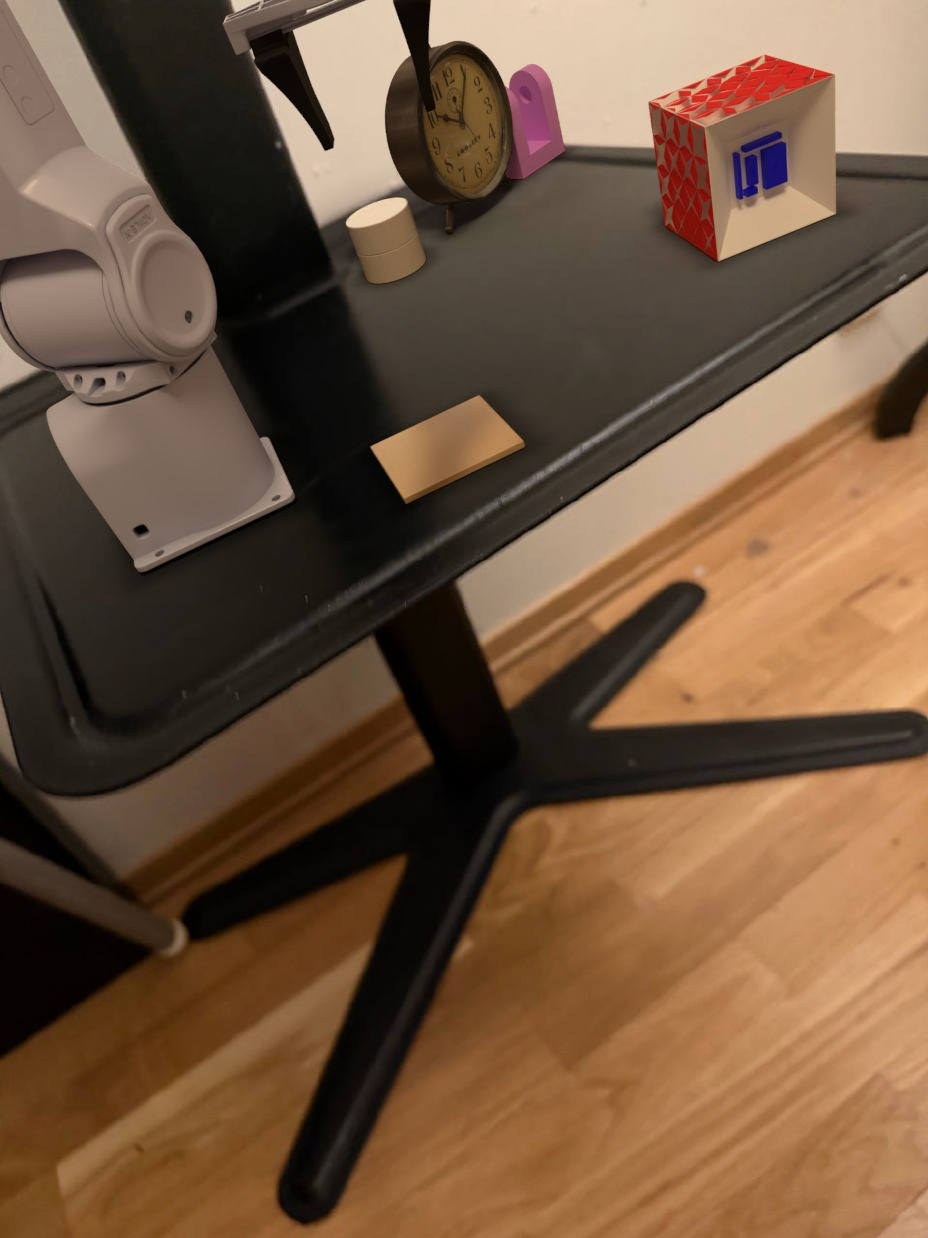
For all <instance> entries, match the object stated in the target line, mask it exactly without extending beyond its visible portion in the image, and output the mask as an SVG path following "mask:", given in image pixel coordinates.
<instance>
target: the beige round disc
mask: <svg viewBox="0 0 928 1238" xmlns="http://www.w3.org/2000/svg"><path fill="white" fill-rule="evenodd" d="M422 243H423V242H422V240H421V237H420V234H419V230H418V229H417V233H416V235H415V236H414V237H413V238H412V239H411V240H410V241H408V242H407V243H405V244H404V245H402V246H400V247H398V248H396V249H394V250H392V251H389V252H386V253H383V254H379V255H373V256H362V255H359V254H357V253H356V256H357V259H358V261H359V264H360V266H361V269H362V272H363V274H364V278H365V280H366V281H367V282H368V283H371V284H376V285H377V284H378V285H381V284H388V283H393V282H395V281H399V280H402V279H404V278H406V277H408V276H410V275H412V274H414V273H415V272H417V271H418V270H419V269H421V268H422V267H423V266H424V264H425V263H426V261H427V256H426V252H425V249H424V246H423V244H422Z"/></svg>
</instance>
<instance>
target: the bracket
mask: <svg viewBox="0 0 928 1238" xmlns="http://www.w3.org/2000/svg"><path fill="white" fill-rule="evenodd" d="M505 88H506V91H507V94H508V98H509V102H510V107H511V112H512V122H513V142H512V151H511V156H510V160H509V164H508V167H507V170H506V173H505V174H506V176H507V177H510V178H511V180H524V179H526V178H528V177H529V176H530V175H532V174H533V173H535V172H537V171H538V170H539V169H541V168H542V167H544V166H545V165H546V164H548V163H550V162H551V161H553V160H554V159H555V158H557V157H558V156H559V155H562V154H563V153H564V152H565V151H566V148H565V142H564V137H563V134H562V127H561V124H560V117H559V113H558V108H557V102H556V98H555V92H554V88H553V83H552V80H551V79H550V75H548V73H547V71H545V69H544V68H543V67H541V66H540V65H538V64H535V63H529V64H526V65H525V66H523V67H522V68H520V69H518V70H516V71H515V72H514V73H513V74H512V75H511V77H510V79H509V83H508V87H507V86H506V85H505Z"/></svg>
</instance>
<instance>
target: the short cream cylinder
mask: <svg viewBox="0 0 928 1238" xmlns="http://www.w3.org/2000/svg"><path fill="white" fill-rule="evenodd" d="M415 221H416V220H415V218H414V215H413V212H412V209H411V206H410V202H409V200H408V199H407V198H404V197H389V198H385V199H381V200H378V201H374V202H372V203H369V204H368V205H365V206H363V207H361V208H360V209H357V210H356V211H355V212H354V213H352V214H351V215H350V216H349V217H348V218H347V219H346V221H345V226H346V229H347V232H348V235H349V237H350V240H351V242H352V246H353V248H354V251H355V253H356V255H357V254H359V255H362V256H373V255H379V254H383V253H386V252H389V251H392V250H394V249H396V248H398V247H400V246H402V245H404V244H405V243H407V242H408V241H410V240H411V239H412V238H413V237H414V236H415V235H416V233H417V230H418V227H417V224H416V222H415Z"/></svg>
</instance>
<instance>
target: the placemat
mask: <svg viewBox="0 0 928 1238" xmlns="http://www.w3.org/2000/svg"><path fill="white" fill-rule="evenodd" d="M369 448H370V451H371V452H372V454H373V456H374V457H375V459H376V460H377V461H378V463H379V465H380V467H381V469H383V471H384V473H385V474H386V476H387V477H388V479H389V481H390V482H391V483H392V485H393V487H394V488H395V489H396V491H397V493H398V495H399V496H400V497H401V499H402V501H403V502H404V503H405V505H408V504H409V503H412V502H414V501H416V500H418V499H420V498H422V497H424V496H426V495H428V494H431V493H433V492H435V491H436V490H439V489H441V488H443V487H445V486H447V485H449V484H451V483H453V482H455V481H457V480H460V479H463V478H464V477H466V476H468V475H470V474H471V473H474V472H477V471H478V470H480V469H483V468H485V467H487V466H488V465H491V464H492V463H495V462H497V461H499V460H501V459H503V458H505V457H507V456H509V455H512V454H514V453H516V452H518V451H520V450H522V449H524V448H526V443H525V441H524V440H523V439H522V437H521V436H520V435H518V433H516V431H515V430H514V429H513V428H511V426H510V425H509V424H508V423H507V422H506V421H505V420H504V418H502V417H501V416H500V415H499V414H498V413H497V411H495V410H494V408H493V407H491V405H490V404H489V403H488V402H487V401H486V400H485V399H484V397H482V396H481V395H480V394H478V395H476V396H474V397H471V398H470V399H467V400H466V401H463V402H461V403H460V404H457V405H455V406H453V407H450V408H449V409H447V410H444V411H442V412H441V413H438V414H436V415H433V416H432V417H430V418H428V419H425V420H423V421H421V422H419V423H417V424H415V425H413V426H411V427H408V428H406V429H404V430H402V431H400V432H398V433H396V434H394V435H392V436H390V437H387V438H385V439H383V440H381V441H379V442H377V443H374V444H372V445H370V446H369Z"/></svg>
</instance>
